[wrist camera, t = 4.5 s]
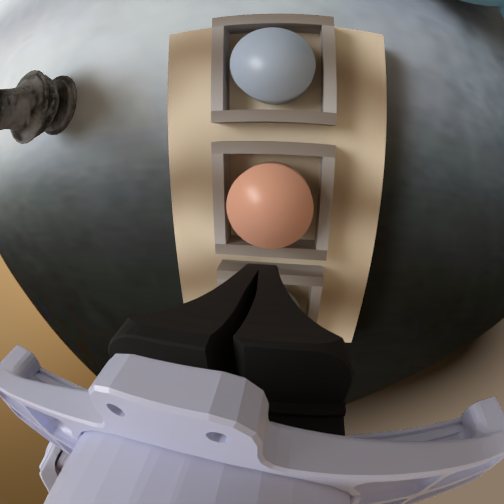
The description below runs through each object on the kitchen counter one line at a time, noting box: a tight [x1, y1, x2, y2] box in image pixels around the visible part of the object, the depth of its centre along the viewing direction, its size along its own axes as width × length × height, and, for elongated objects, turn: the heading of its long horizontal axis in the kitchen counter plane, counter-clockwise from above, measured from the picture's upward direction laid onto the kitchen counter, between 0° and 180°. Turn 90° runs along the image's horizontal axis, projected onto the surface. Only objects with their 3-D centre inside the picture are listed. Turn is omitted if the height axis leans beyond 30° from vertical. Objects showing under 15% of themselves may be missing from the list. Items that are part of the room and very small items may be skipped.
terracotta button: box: [226, 161, 314, 249], centre depth 13 cm, size 4×4×2 cm
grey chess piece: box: [0, 70, 77, 144], centre depth 10 cm, size 6×6×12 cm
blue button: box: [230, 27, 316, 105], centre depth 11 cm, size 4×4×2 cm
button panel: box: [168, 14, 387, 343], centre depth 15 cm, size 20×12×3 cm, turn 0°
